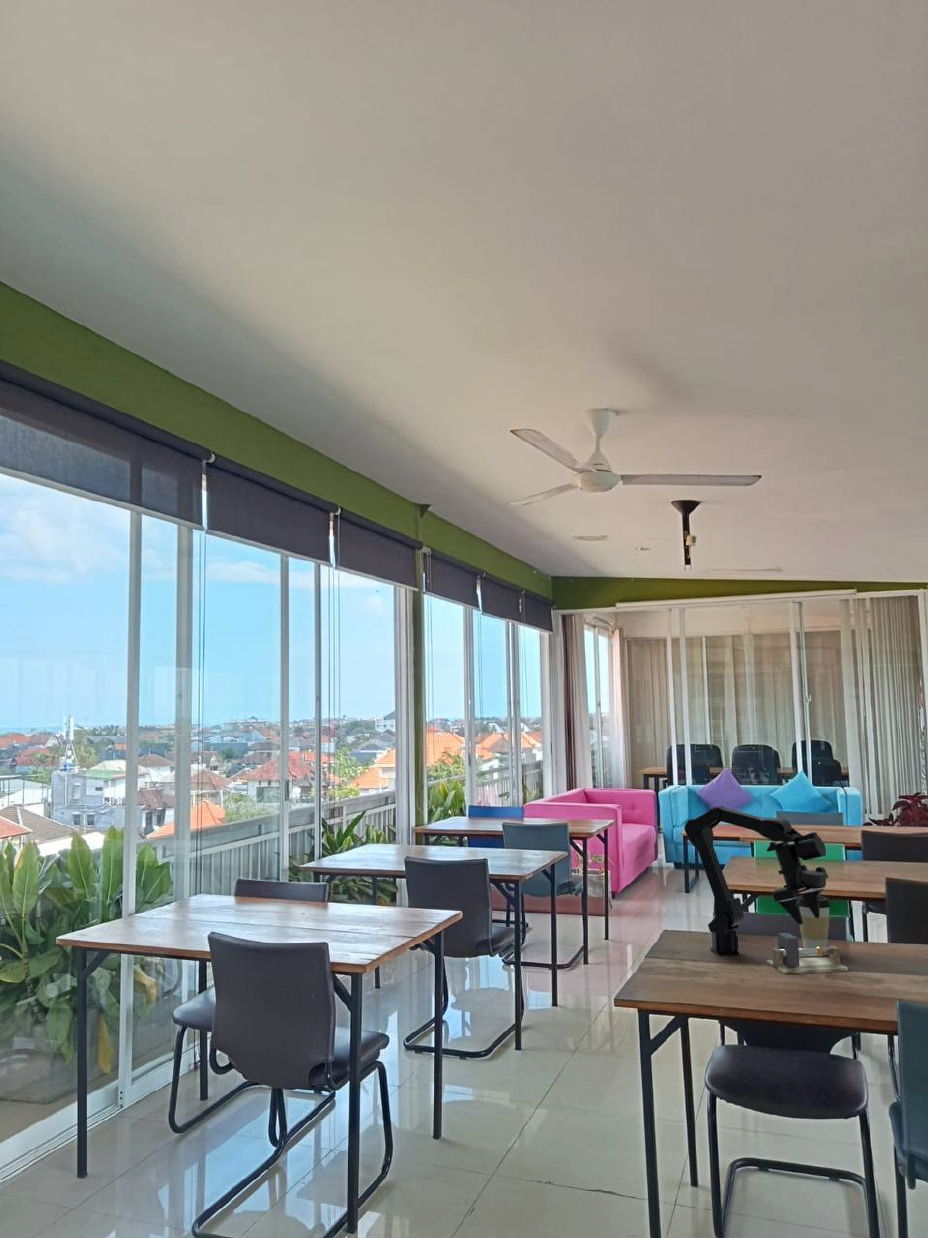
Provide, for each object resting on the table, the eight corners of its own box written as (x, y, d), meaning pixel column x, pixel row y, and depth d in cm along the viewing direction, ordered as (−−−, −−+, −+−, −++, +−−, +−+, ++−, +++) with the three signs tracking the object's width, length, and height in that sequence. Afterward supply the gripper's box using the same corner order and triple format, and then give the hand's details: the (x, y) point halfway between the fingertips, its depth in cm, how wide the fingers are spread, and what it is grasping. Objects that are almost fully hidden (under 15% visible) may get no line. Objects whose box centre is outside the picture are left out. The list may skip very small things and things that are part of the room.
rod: (777, 959, 250) (776, 950, 251) (773, 956, 253) (772, 947, 253) (839, 956, 253) (838, 947, 253) (834, 954, 255) (834, 945, 255)
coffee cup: (827, 946, 274) (825, 894, 275) (837, 955, 264) (834, 901, 266) (793, 945, 275) (791, 894, 276) (802, 954, 265) (800, 901, 267)
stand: (784, 974, 246) (784, 955, 246) (766, 963, 257) (765, 944, 257) (847, 971, 248) (846, 952, 248) (827, 960, 259) (826, 942, 259)
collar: (789, 966, 249) (787, 938, 249) (778, 960, 255) (777, 933, 255) (799, 966, 249) (798, 938, 250) (789, 960, 255) (787, 932, 256)
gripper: (798, 864, 245) (818, 923, 240) (832, 853, 257) (852, 910, 253) (763, 871, 253) (782, 929, 248) (797, 861, 265) (816, 916, 261)
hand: (809, 921), depth 252 cm, fingers open, 9 cm apart
